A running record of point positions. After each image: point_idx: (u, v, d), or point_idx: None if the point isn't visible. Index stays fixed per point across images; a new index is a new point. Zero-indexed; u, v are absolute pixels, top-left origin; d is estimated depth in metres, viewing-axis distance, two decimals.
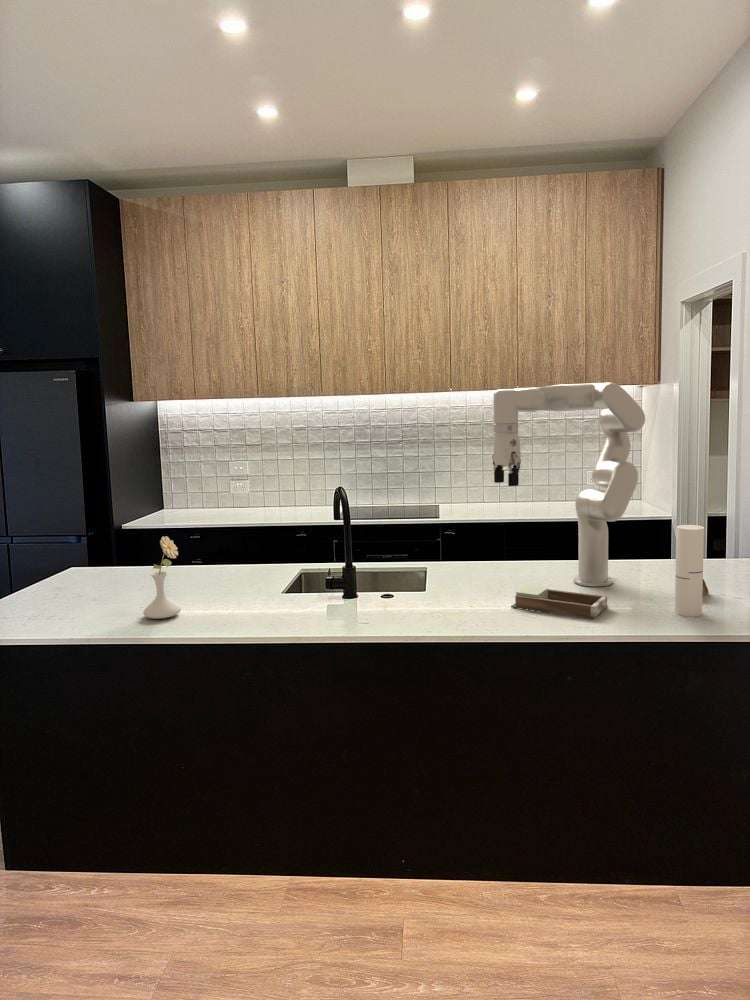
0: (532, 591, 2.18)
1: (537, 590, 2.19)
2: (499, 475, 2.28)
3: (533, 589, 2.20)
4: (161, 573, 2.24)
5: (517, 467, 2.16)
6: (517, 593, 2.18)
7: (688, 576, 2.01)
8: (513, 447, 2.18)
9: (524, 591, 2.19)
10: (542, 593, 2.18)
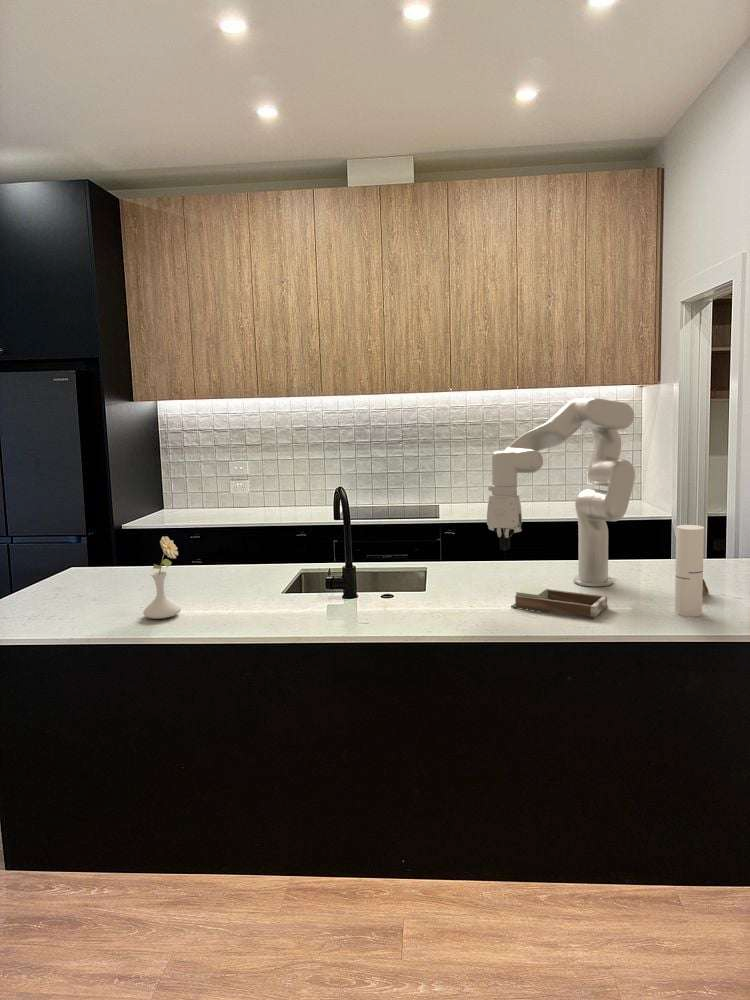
0: (532, 591, 2.18)
1: (537, 590, 2.19)
2: None
3: (533, 589, 2.20)
4: (161, 573, 2.24)
5: None
6: (517, 593, 2.18)
7: (688, 576, 2.01)
8: None
9: (524, 591, 2.19)
10: (542, 593, 2.18)
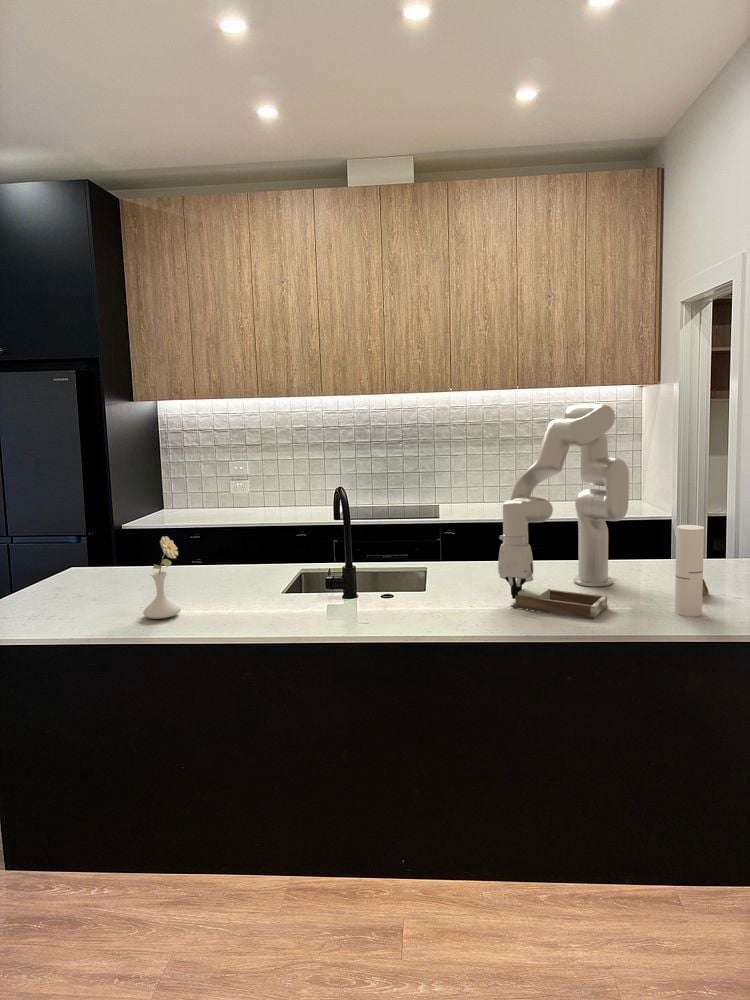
0: (534, 592, 2.18)
1: (539, 591, 2.18)
2: None
3: (535, 589, 2.20)
4: (161, 573, 2.24)
5: None
6: (519, 593, 2.18)
7: (688, 576, 2.01)
8: None
9: (526, 591, 2.18)
10: (544, 593, 2.17)
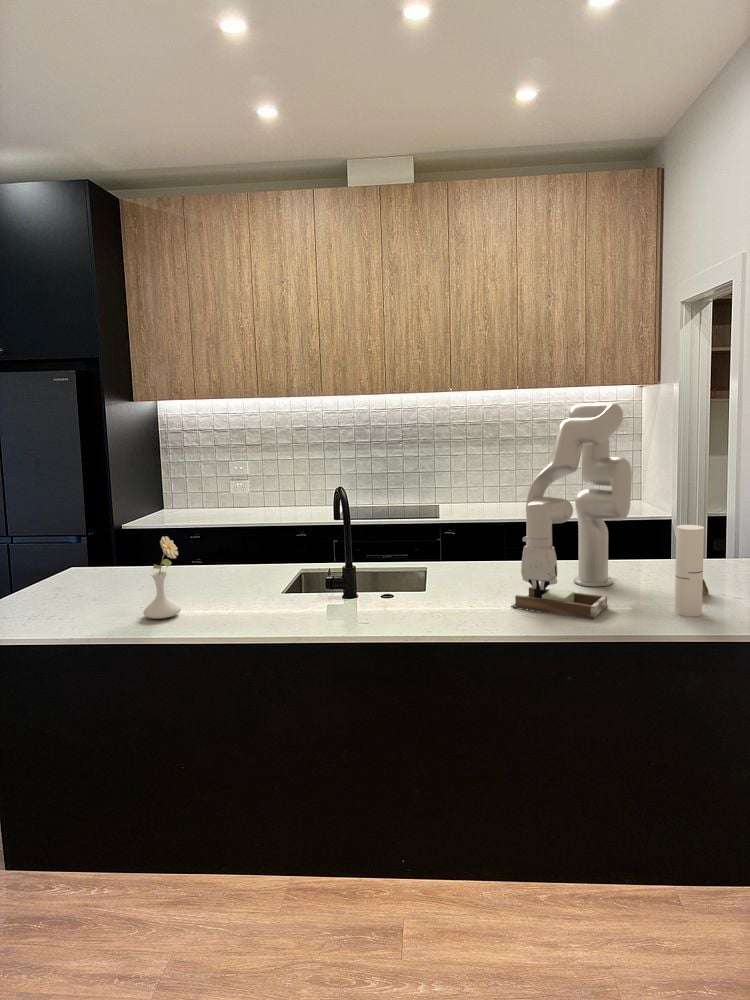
0: (558, 595, 2.13)
1: (564, 594, 2.14)
2: None
3: (559, 592, 2.16)
4: (161, 573, 2.24)
5: None
6: (543, 596, 2.14)
7: (688, 576, 2.01)
8: None
9: (550, 594, 2.14)
10: (569, 596, 2.13)
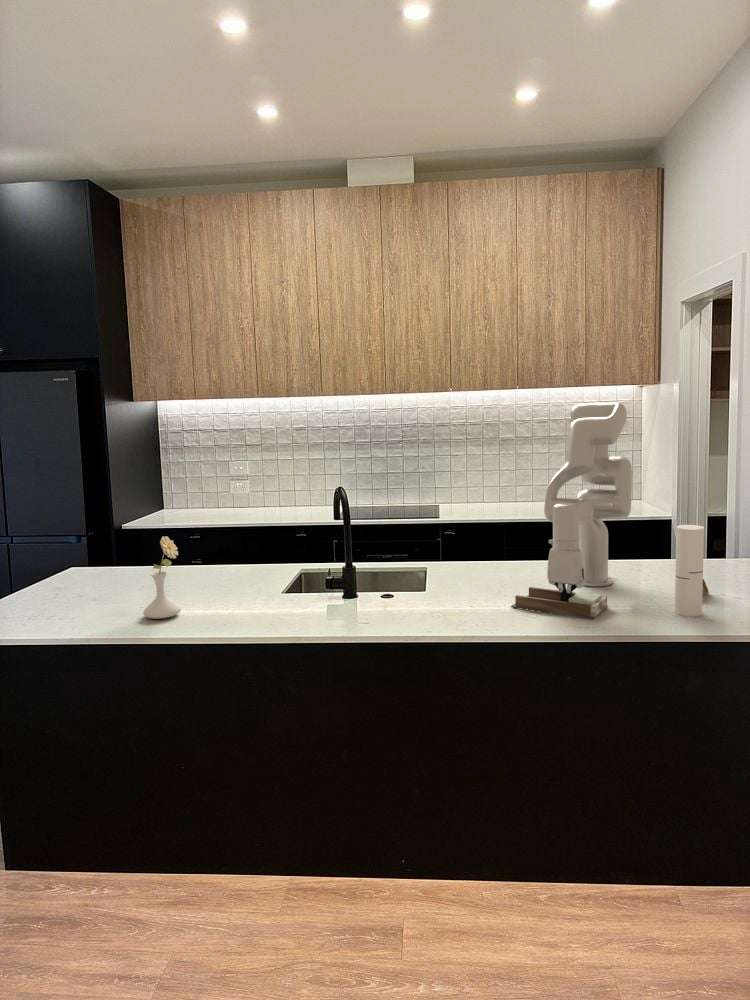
0: (586, 598, 2.09)
1: (591, 597, 2.09)
2: None
3: (586, 596, 2.11)
4: (161, 573, 2.24)
5: None
6: (570, 600, 2.09)
7: (688, 576, 2.01)
8: None
9: (577, 598, 2.09)
10: (596, 600, 2.08)
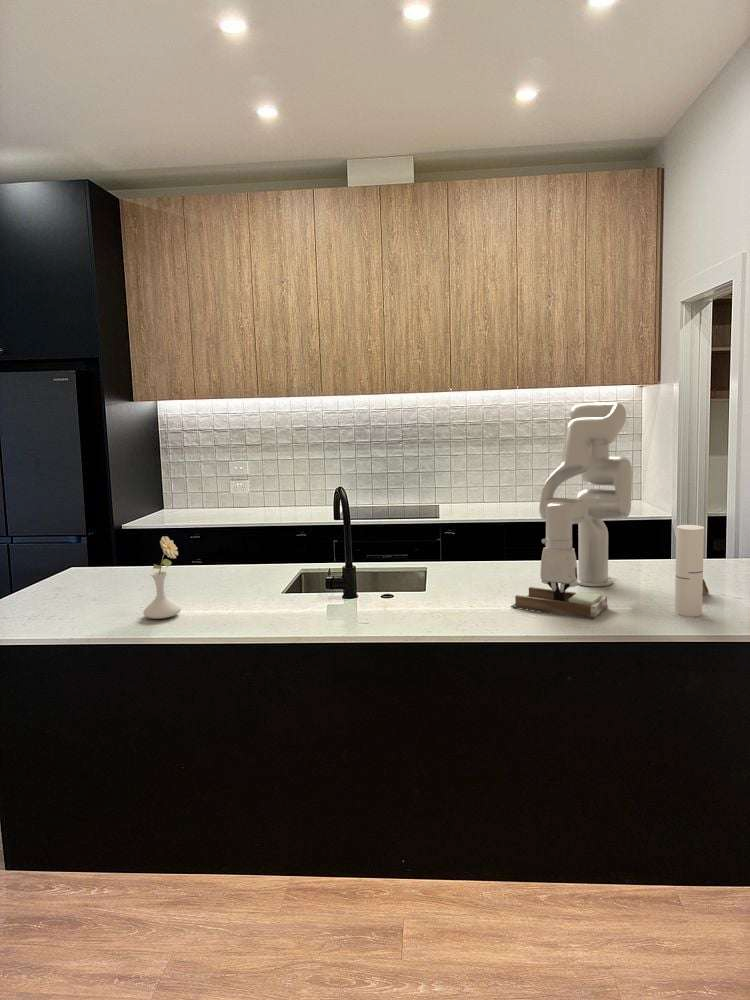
0: (586, 598, 2.09)
1: (591, 597, 2.09)
2: None
3: (586, 596, 2.11)
4: (161, 573, 2.24)
5: None
6: (570, 600, 2.09)
7: (688, 576, 2.01)
8: None
9: (577, 598, 2.09)
10: (596, 600, 2.08)
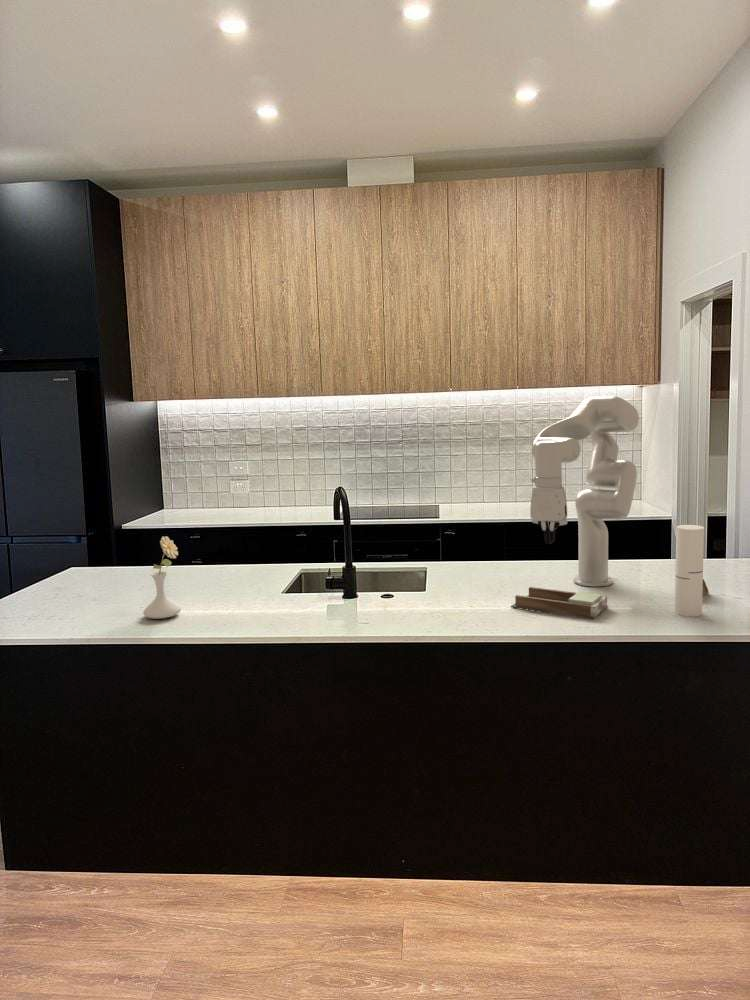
0: (586, 598, 2.09)
1: (591, 597, 2.09)
2: None
3: (586, 596, 2.11)
4: (161, 573, 2.24)
5: None
6: (570, 600, 2.09)
7: (688, 576, 2.01)
8: None
9: (577, 598, 2.09)
10: (596, 600, 2.08)
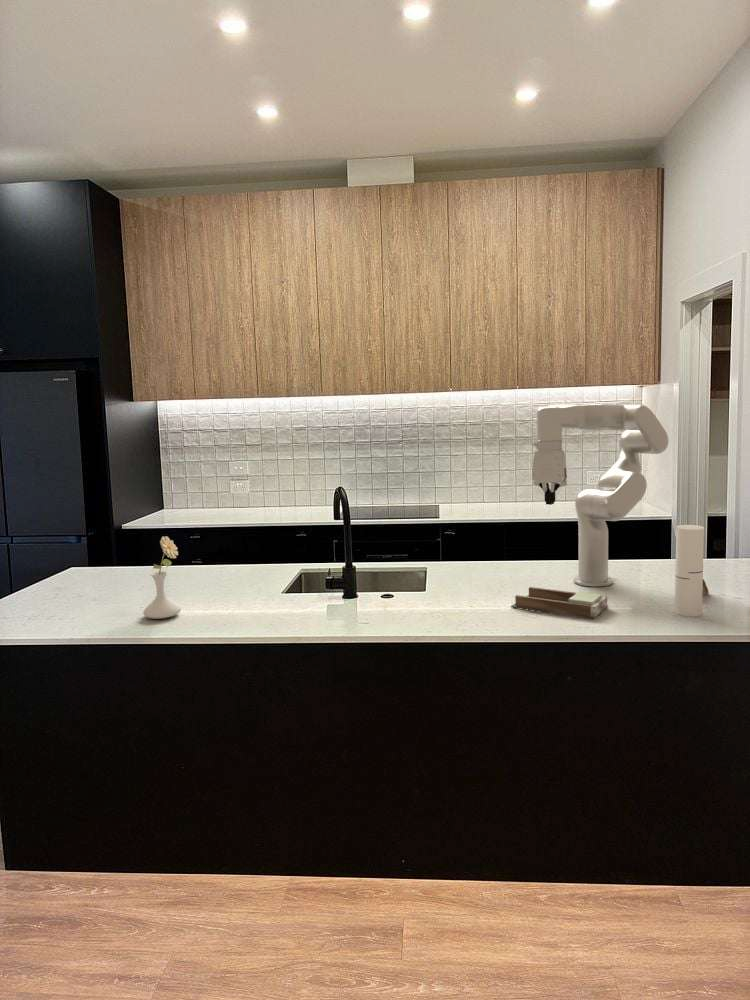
0: (586, 598, 2.09)
1: (591, 597, 2.09)
2: None
3: (586, 596, 2.11)
4: (161, 573, 2.24)
5: None
6: (570, 600, 2.09)
7: (688, 576, 2.01)
8: None
9: (577, 598, 2.09)
10: (596, 600, 2.08)
